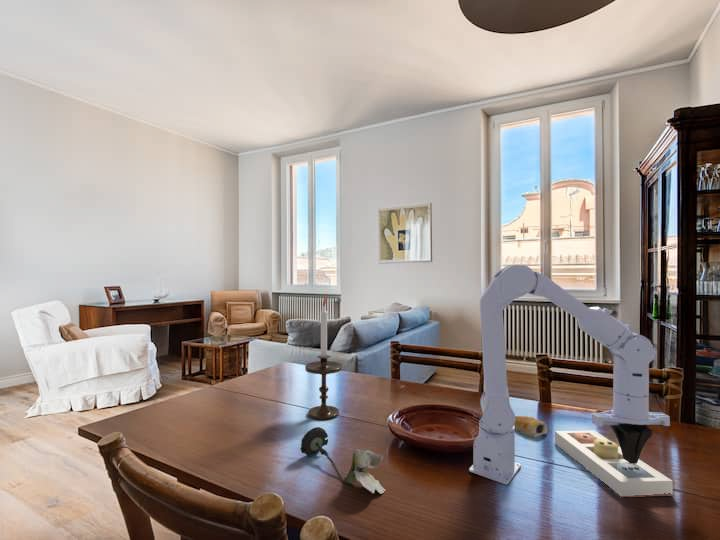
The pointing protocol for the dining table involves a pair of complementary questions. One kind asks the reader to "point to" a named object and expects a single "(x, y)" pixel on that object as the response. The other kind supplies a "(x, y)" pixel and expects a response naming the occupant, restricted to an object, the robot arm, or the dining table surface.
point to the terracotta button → (584, 438)
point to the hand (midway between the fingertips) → (630, 460)
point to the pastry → (530, 426)
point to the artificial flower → (360, 460)
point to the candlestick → (323, 374)
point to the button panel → (613, 467)
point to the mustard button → (605, 449)
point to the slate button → (630, 470)
